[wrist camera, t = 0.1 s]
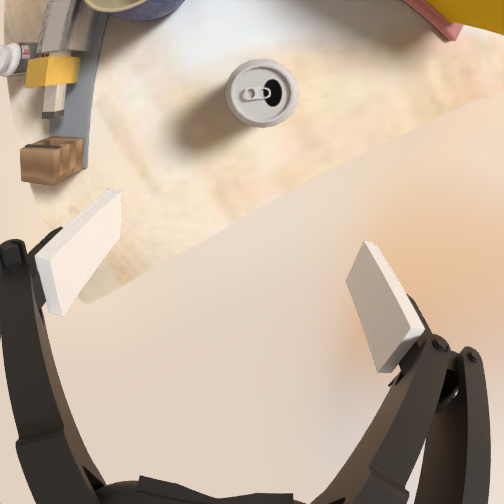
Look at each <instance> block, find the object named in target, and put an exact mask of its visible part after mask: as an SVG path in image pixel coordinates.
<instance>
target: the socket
mask: <svg viewBox="0 0 504 504" xmlns="http://www.w3.org/2000/svg"><path fill="white" fill-rule="evenodd" d="M83 162H84V138H77V137H60V136H51V137H48V138H46V139H43V140H41V141H38V142H36V143H33V144H28V145H25V147H24V148H21V149H20V163H21V180H22V181H24V182H30V183H37V184H44V185H51V186H55V185H57V184H58V183H60V182H61V181H63V180H64V179H66V178H68V177H69V176H71V175H73V174H74V173H76V172H78V171H79V170H81V169H83Z"/></svg>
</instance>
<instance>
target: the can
mask: <svg viewBox="0 0 504 504" xmlns="http://www.w3.org/2000/svg"><path fill="white" fill-rule="evenodd" d="M225 97H226V101H227V105H228V107H229V109H230V110H231V112H232V114H233V115H234V116H235V117H237V118H238V119H239V120H240V121H241V122H243V123H245V124H248V125H250V126H253V127H261V128H265V127H271V126H275V125H277V124H279V123H282V122H284V121H285V120H286V119H287V118H288V117H289V116H290V115H291V114H292V113H293V112H294V110H295V108H296V106H297V104H298V99H299V89H298V83H297V81H296V79H295V77H294V76H293V74H292V72H290V71H289V70H288V69H287V68H286V67H285V66H284V65H282V64H280V63H278V62H276V61H273V60H267V59H256V60H251V61H248V62H246V63H244V64H242V65H240V66H239V67H238V68H237V69H236V70H235V71H234V72H233V73H232V74H231V75H230V77H229V79H228V81H227V83H226V91H225Z"/></svg>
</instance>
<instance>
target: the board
mask: <svg viewBox="0 0 504 504" xmlns="http://www.w3.org/2000/svg"><path fill="white" fill-rule="evenodd" d="M107 17H108V14H106V13H103V12H100V14H99V17H98V21H97V25H96V30H95V34H94V39H93V43H92V48H91V51H89V52H77V53H71V57H81V62H80V68H79V74H78V81H77V83H67V85H66V93H65V103H64V116H61V117H58V118H54V119H51V121H50V137H51V136H60V137H77V138H84V162H83V168H87V167H88V144H89V128H90V116H91V106H92V98H93V90H94V82H95V76H96V70H97V64H98V58H99V53H100V48H101V43H102V38H103V34H104V29H105V25H106V21H107Z"/></svg>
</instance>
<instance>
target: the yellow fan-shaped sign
mask: <svg viewBox="0 0 504 504" xmlns="http://www.w3.org/2000/svg"><path fill="white" fill-rule="evenodd" d="M403 1H404V2H406V3H407V4H408V5H410V6H411V7H412V8H413V9H415V10H416V11H417V12H418V13H420V14H421V15H422V16H423V17H424V18H425V19H427V20H428V21H429V22H430V23H431V24H432V25H433V26H435V27H436V28H437V29H438V30H439V31H440V32H441V33H442V34H443V35H444V36H445V37H446V38H447V39H448V40H449V41H456V39H457V37H458V35H459V33H460V31H461V29H462V27H463V25H468V26H472V27H476V28H480V29H484V30H488V31H492V32H495V33H499V34H502V35H504V0H403Z"/></svg>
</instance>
